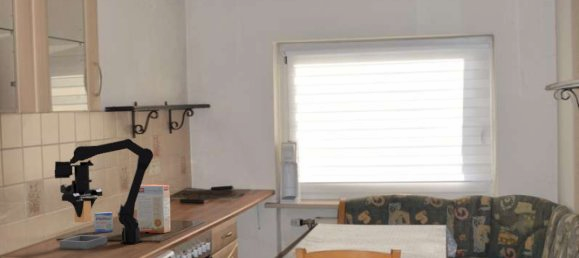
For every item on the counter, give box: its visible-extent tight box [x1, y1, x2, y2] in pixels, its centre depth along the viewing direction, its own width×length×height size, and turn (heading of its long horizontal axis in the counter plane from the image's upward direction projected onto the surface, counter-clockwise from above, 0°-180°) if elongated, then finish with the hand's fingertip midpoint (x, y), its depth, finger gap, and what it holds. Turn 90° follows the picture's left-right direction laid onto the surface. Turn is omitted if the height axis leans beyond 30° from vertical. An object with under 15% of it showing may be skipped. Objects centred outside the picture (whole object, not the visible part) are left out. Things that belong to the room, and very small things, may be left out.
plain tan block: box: [74, 201, 92, 223], centre depth 284 cm, size 4×4×8 cm
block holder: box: [59, 234, 108, 251], centre depth 284 cm, size 13×13×3 cm
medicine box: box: [93, 211, 114, 234], centre depth 318 cm, size 8×4×9 cm, turn 106°
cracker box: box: [136, 184, 172, 234], centre depth 314 cm, size 14×6×21 cm, turn 67°
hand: (83, 216), depth 284 cm, fingers closed on plain tan block, 4 cm apart
